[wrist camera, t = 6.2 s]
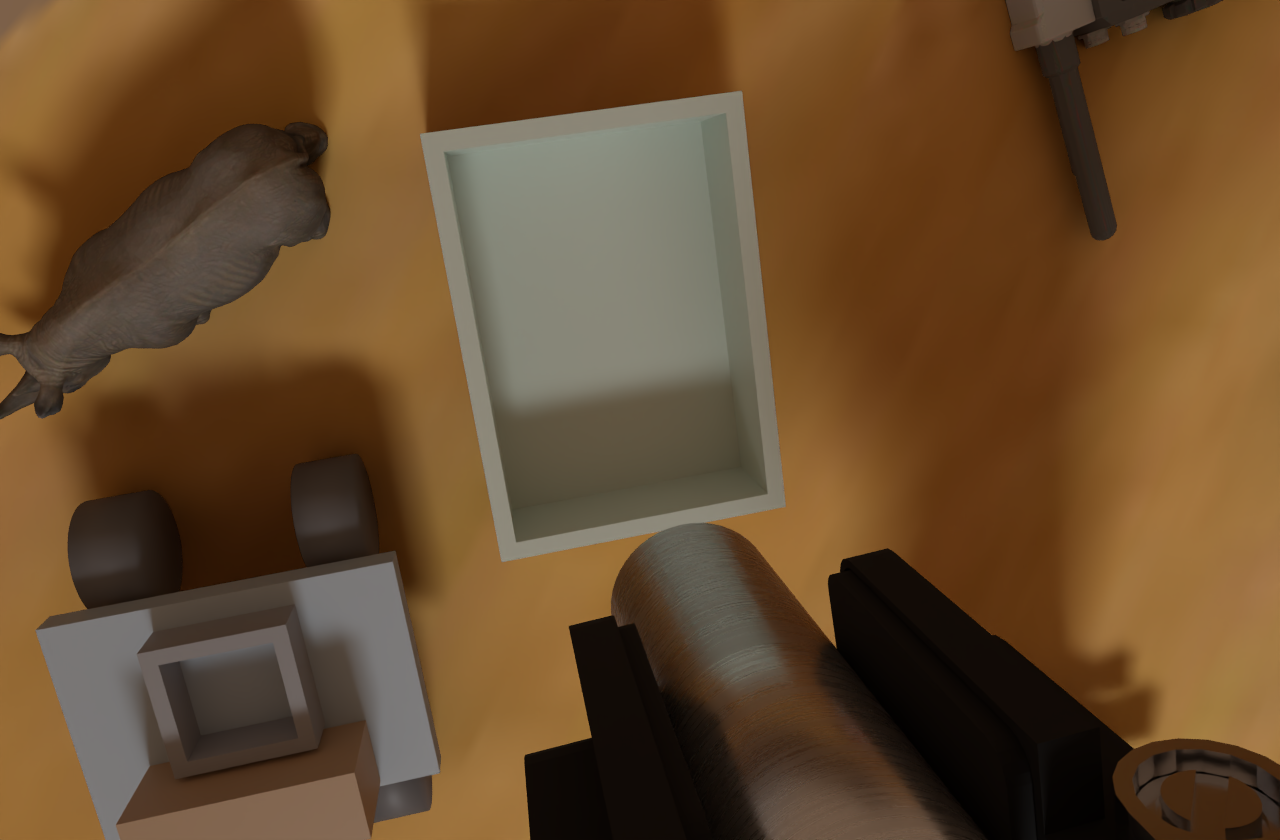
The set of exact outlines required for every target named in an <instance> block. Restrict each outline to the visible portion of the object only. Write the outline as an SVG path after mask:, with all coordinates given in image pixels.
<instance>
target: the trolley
mask: <svg viewBox="0 0 1280 840" xmlns="http://www.w3.org/2000/svg"><path fill="white" fill-rule="evenodd" d="M291 506H292V515H293V521H294V527H295V532H296V537H297V541H298V545H299V548H300V551H301V554H302V557H303V560H304V562H305V565H306V567H307V568H302V569H296V570H291V571H286V572H281V573H275V574H270V575H265V576H260V577H254V578H249V579H244V580H239V581H233V582H228V583H223V584H218V585H213V586H207V587H202V588H197V589H192V590H186V591H181V592H179V590H180V586H181V580H182V549H181V542H180V537H179V533H178V529H177V525H176V522H175V519H174V517H173V514H172V512H171V510H170V508H169V506H168V504H167V503H166V501H165V500H164V499H163V497H162V496H161V495H160V494H159V493H157V492H155V491H153V490H147V491H141V492H136V493H130V494H124V495H119V496H113V497H107V498H102V499H96V500H90V501H86V502H83V503H82V504H80V505H79V506H78V507H77V509H76V510H75V512H74V514H73V516H72V519H71V522H70V526H69V533H68V559H69V566H70V571H71V575H72V579H73V582H74V585H75V588H76V590H77V593H78V595H79V597H80V599H81V600H82V602H83V603H84V605H85V606H86V608H87V610H81V611H76V612H71V613H66V614H60V615H55V616H50V617H49V618H48V619H47V620H46V621H45V622H44V623H43V624H42V625H41V626H40V627H38V628H37V629H36V633H37V636H38V639H39V642H40V645H41V648H42V651H43V654H44V657H45V660H46V663H47V666H48V669H49V672H50V675H51V678H52V681H53V684H54V687H55V690H56V693H57V696H58V699H59V702H60V705H61V708H62V711H63V714H64V717H65V720H66V723H67V726H68V729H69V732H70V735H71V738H72V741H73V744H74V747H75V750H76V753H77V756H78V759H79V762H80V765H81V768H82V771H83V774H84V777H85V780H86V782H87V785H88V788H89V791H90V794H91V797H92V800H93V803H94V806H95V809H96V812H97V815H98V818H99V821H100V824H101V827H102V830H103V833H104V836H105V839H106V840H367V839H371V835H372V829H373V823H376V822H380V821H384V820H389V819H393V818H398V817H402V816H406V815H411V814H415V813H420V812H424V811H428V810H430V808H431V804H432V775H433V774H438V773H440V764H441V754H440V750H439V745H438V741H437V736H436V732H435V727H434V723H433V718H432V714H431V709H430V704H429V700H428V695H427V691H426V686H425V682H424V677H423V673H422V668H421V664H420V659H419V655H418V650H417V646H416V641H415V637H414V632H413V628H412V623H411V619H410V614H409V610H408V605H407V601H406V596H405V592H404V587H403V583H402V578H401V574H400V569H399V565H398V560H397V556H396V551H391V552H386V553H380V554H379V535H378V525H377V517H376V510H375V505H374V499H373V495H372V490H371V486H370V482H369V478H368V475H367V472H366V469H365V466H364V464H363V462H362V460H361V458H360V456H359V455H358V454H351V455H345V456H340V457H334V458H328V459H323V460H317V461H311V462H306V463H300V464H296V465H295V467H294V468H293V472H292V476H291Z"/></svg>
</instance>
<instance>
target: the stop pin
mask: <svg viewBox="0 0 1280 840" xmlns="http://www.w3.org/2000/svg"><path fill="white" fill-rule="evenodd" d="M611 615H614V617H615V620H616V623H617V626H618V627H620V626H624V625H628V624H632V623H635V625H636V628H637V630H638V633H639V636H640V638H641V641H642V644H643V647H644V649H645V652H646V655H647V658H648V660H649V663H650V666H651V668H652V671H653V674H654V677H655V679H656V682H657V685H658V687H659V690H660V693H661V696H662V698H663V701H664V704H665V707H666V709H667V712H668V715H669V717H670V720H671V723H672V726H673V728H674V731H675V734H676V737H677V739H678V742H679V745H680V747H681V750H682V753H683V756H684V758H685V761H686V764H687V767H688V769H689V772H690V775H691V777H692V780H693V783H694V786H695V788H696V791H697V794H698V797H699V799H700V802H701V805H702V807H703V810H704V813H705V816H706V819H707V823H708V826H709V829H710V833H711V837H712V840H988V838H987V837H986V836H985V835H984V833H983V832H982V831H981V830H980V828H979V827H978V826H977V825H976V823H975V822H974V821H973V820H972V818H971V817H970V816H969V815H968V813H967V812H966V811H965V810H964V808H963V807H962V806H961V805H960V803H959V802H958V801H957V800H956V798H955V797H954V796H953V794H952V793H951V792H950V791H949V789H948V788H947V787H946V786H945V784H944V783H943V782H942V781H941V779H940V778H939V777H938V776H937V774H936V773H935V772H934V771H933V769H932V768H931V767H930V766H929V764H928V763H927V762H926V761H925V759H924V758H923V757H922V756H921V754H920V753H919V752H918V751H917V749H916V748H915V747H914V745H913V744H912V743H911V742H910V740H909V739H908V738H907V737H906V735H905V734H904V733H903V732H902V730H901V729H900V728H899V727H898V725H897V724H896V723H895V722H894V720H893V719H892V718H891V717H890V715H889V714H888V713H887V712H886V710H885V709H884V708H883V707H882V705H881V704H880V703H879V702H878V700H877V699H876V698H875V697H874V695H873V694H872V693H871V691H870V690H869V689H868V688H867V686H866V685H865V684H864V683H863V681H862V680H861V679H860V678H859V676H858V675H857V674H856V673H855V671H854V670H853V669H852V668H851V666H850V665H849V664H848V663H847V661H846V660H845V659H844V658H843V656H842V655H841V654H840V653H839V651H838V650H837V649H836V648H835V646H834V645H833V644H832V642H831V641H830V640H829V639H828V637H827V636H826V635H825V634H824V632H823V631H822V630H821V629H820V627H819V626H818V625H817V624H816V622H815V621H814V620H813V619H812V617H811V616H810V615H809V614H808V612H807V611H806V610H805V609H804V607H803V606H802V605H801V604H800V602H799V601H798V600H797V599H796V597H795V596H794V595H793V594H792V592H791V591H790V590H789V588H788V587H787V586H786V585H785V583H784V582H783V581H782V580H781V578H780V577H779V576H778V575H777V573H776V572H775V571H774V570H773V568H772V567H771V566H770V565H769V563H768V562H767V561H766V560H765V558H764V557H763V556H762V555H761V553H760V552H759V551H758V550H757V548H756V547H755V546H754V545H753V544H752V543H751V542H750V541H749V540H747V539H746V538H745V537H743V536H742V535H741V534H739V533H737V532H735V531H733V530H731V529H728V528H726V527H723V526H719V525H715V524H708V523H689V524H683V525H678V526H675V527H672V528H668V529H666V530H664V531H662V532H659V533H657V534H656V535H654V536H652V537H651V538H649V539H648V540H646V541H645V542H644V543H642V544H641V545H640V546H639V547H638V548H637V549H636V550H635V551H634V552H633V553H632V554H631V555H630V556H629V558H628V559H627V560H626V562H625V563H624V565H623V567H622V568H621V570H620V572H619V574H618V576H617V579H616V581H615V584H614V588H613V591H612V598H611Z"/></svg>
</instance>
